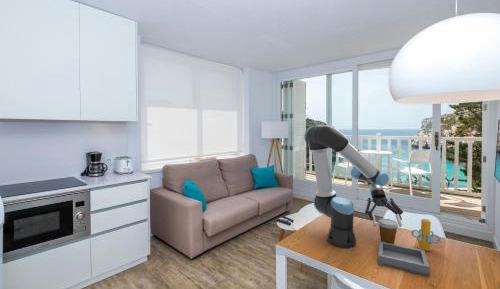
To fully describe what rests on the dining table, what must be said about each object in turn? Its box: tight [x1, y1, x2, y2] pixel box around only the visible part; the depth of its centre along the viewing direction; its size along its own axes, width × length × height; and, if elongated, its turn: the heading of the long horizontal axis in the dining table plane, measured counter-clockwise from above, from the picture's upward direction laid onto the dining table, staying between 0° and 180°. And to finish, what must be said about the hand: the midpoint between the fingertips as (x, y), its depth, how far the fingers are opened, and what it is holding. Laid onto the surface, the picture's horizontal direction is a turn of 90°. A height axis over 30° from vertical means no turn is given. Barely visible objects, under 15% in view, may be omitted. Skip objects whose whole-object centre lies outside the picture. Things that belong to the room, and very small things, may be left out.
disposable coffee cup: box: [377, 218, 399, 244], centre depth 131 cm, size 10×10×12 cm
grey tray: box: [377, 241, 430, 277], centre depth 114 cm, size 19×16×4 cm
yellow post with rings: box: [410, 218, 441, 252], centre depth 125 cm, size 12×10×15 cm
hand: (388, 225), depth 134 cm, fingers open, 13 cm apart
